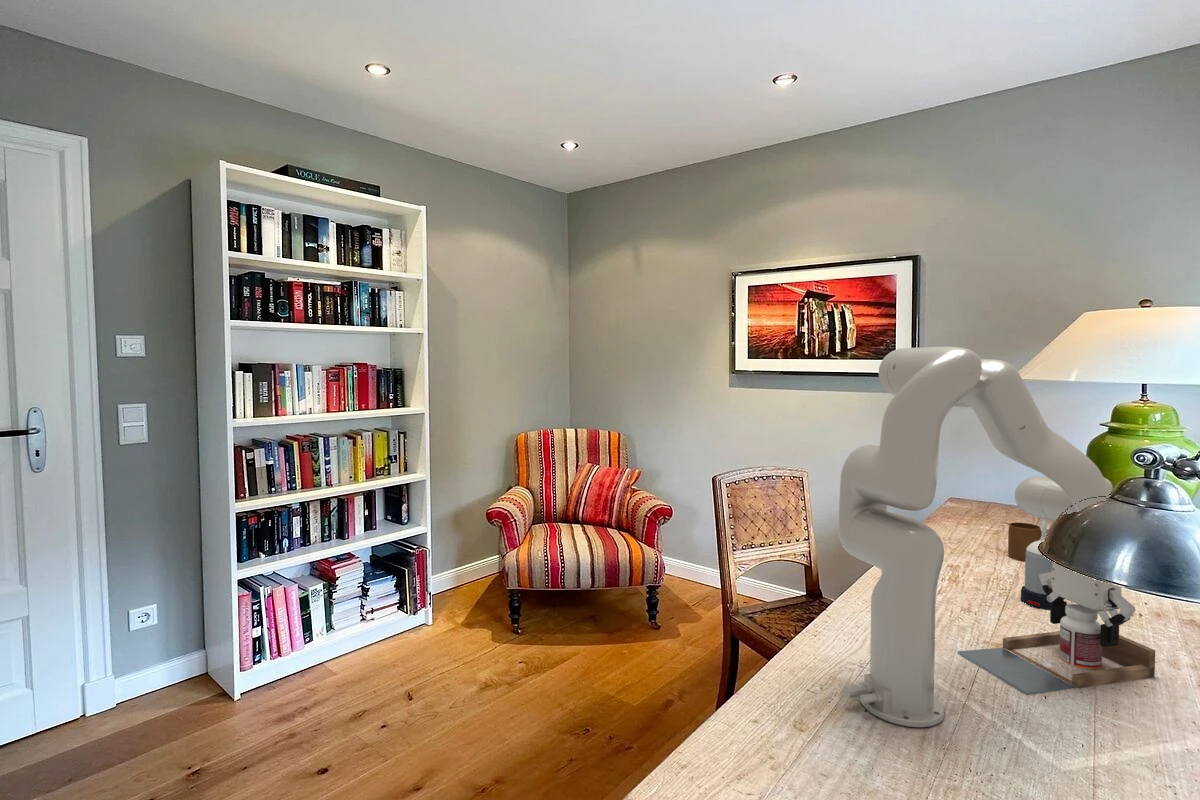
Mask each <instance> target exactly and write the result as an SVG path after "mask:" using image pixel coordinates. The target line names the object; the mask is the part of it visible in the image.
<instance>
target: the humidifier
mask: <svg viewBox="0 0 1200 800" xmlns="http://www.w3.org/2000/svg"><path fill="white" fill-rule="evenodd" d="M1047 526H1048V525H1047V519H1043V518H1041V531H1042V536H1041V539H1040V540H1039V541H1035V542H1033V543H1031V544H1030V545H1029V546H1028V547H1027V548H1026V559H1025V561H1024V562H1025V565H1024V567H1025V568H1024V585H1023V586H1022V587H1021V589H1020V601H1021V602H1022V603H1023V602H1024V603H1023V604H1025V603H1026V604H1025V605H1027V606H1029V605H1030V606H1029V607H1032V606H1033V607H1032V608H1035V607H1036V608H1035V609H1039V610H1047V611H1050V603H1051V602H1049V601H1048V600H1047V595H1046V593H1045V592H1044V590H1043V588H1042V587H1043V585H1042V583H1041V581H1040V578H1039V574H1043V573H1049V572H1052V565H1053V562H1052V561H1050V560H1048V559H1047V558H1045V557H1044V556H1043V555H1042V554H1041V553H1040V552H1039V551H1038V546H1039V544H1040V543H1041V542H1042V541H1043V540H1044V538H1045V536H1046V530H1047V529H1048V528H1047ZM1046 537H1047V536H1046ZM1063 601H1065V600H1063Z"/></svg>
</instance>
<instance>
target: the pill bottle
mask: <svg viewBox="0 0 1200 800" xmlns="http://www.w3.org/2000/svg"><path fill="white" fill-rule="evenodd" d="M1065 612H1066V615H1067V616H1064V617H1062V618H1061V620H1060V623H1059V631H1060V643H1059V653H1058V654H1059V655H1058V656H1059V658H1060V660H1062V662H1064V663H1066V664H1068V665H1071V666H1073V667H1077V668H1081V669H1086V670H1098V669H1101V668H1102V665H1103V663H1102V662H1103V660H1102V659H1103V656H1102V646H1101V644H1100V629H1101V624H1100V623H1099V622H1098V621H1097V620H1098V617H1099V616H1098V615H1099V614H1098V612H1097V611H1094V610H1091V609H1089V608H1086V607H1084V606H1081V605H1079V604H1076V603H1069V604H1068V603H1067V605H1066V608H1065Z"/></svg>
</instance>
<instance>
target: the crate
mask: <svg viewBox="0 0 1200 800" xmlns="http://www.w3.org/2000/svg"><path fill="white" fill-rule="evenodd" d="M1058 644H1059V645H1060V630H1057V631H1050V632H1048V631H1047V632H1041V633H1040V632H1039V633H1035V634H1034V633H1033V634H1032V633H1031V634H1023V635H1015V636H1009V637H1003V638H1002V648H1004V649H1006V650H1008V651H1010V652H1011V653H1013V654H1015V655H1017V656H1019V657H1021V658H1022V659H1024V660H1026V661H1028V662H1030V663H1032V664H1033V665H1035V666H1037V667H1039V668H1041V669H1043V670H1045V671H1046V672H1048V673H1050V674H1052V675H1054V676H1056V677H1057V678H1059V679H1061V680H1063V681H1065V682H1067V683H1068V684H1070V685H1072V686H1074V687H1076V688H1077V689H1082V688H1091V687H1097V686H1104V685H1105V686H1106V685H1110V684H1118V683H1124V682H1132V681H1133V682H1134V681H1137V680H1145V679H1152V678H1155V674H1156V673H1155V672H1156V671H1155V669H1156V652H1157V650H1155V649H1153V648H1151V647H1149V646H1147V645H1144V644H1142V643H1139V642H1137V641H1134V640H1132V639H1130V638H1127V637H1125V636H1123V635H1120V634H1119V641H1118V645H1117V646H1111V647H1103V646H1102V658H1105V659H1107V660H1109V661H1111V662H1114V663H1116V664H1118V665H1120V667H1115V668H1106V669H1101V670H1095V671H1093V670H1092V671H1088V672H1078V673H1073V674H1072V676H1071V677H1072V679H1071V680H1070V679H1069V678H1067V677H1065V676H1063V675H1062V674H1059V673H1057V672H1056V671H1054V670H1052V669H1051V668H1049V667H1047V666H1045V665H1043V664H1040V663H1039V662H1037V661H1035V660H1033V658H1032V659H1031V658H1030V657H1028V656H1026V655H1024V654H1022V653H1020V652H1019V651H1017V650H1019V649H1027V648H1034V647H1035V648H1036V647H1043V646H1050V645H1058ZM1121 666H1122V667H1121Z"/></svg>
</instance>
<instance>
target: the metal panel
mask: <svg viewBox="0 0 1200 800" xmlns="http://www.w3.org/2000/svg"><path fill="white" fill-rule="evenodd" d="M957 655H959V656H961V657H963V658H965V660H968V661H969V662H971V663H973V664H975V665H976V666H978V667H979V668H981V669H982V670H984V671H985V672H988V673H989V674H990V675H992V676H994V677H996V678H997V679H998V680H1001V681H1002V682H1004V683H1005V684H1008V686H1010V687H1012V688H1014V689H1016V690H1018V691H1019V692H1021V693H1023V694H1024V695H1026V696H1029V695H1037V694H1043V693H1050V692H1051V693H1053V692H1058V691H1064V690H1072V689H1076V688H1077V687H1075V686H1073V685H1072V684H1070V683H1068V682H1066V681H1064V680H1062V679H1061V678H1059V677H1057V676H1055V675H1053V674H1051V673H1049V672H1048V671H1046V670H1044V669H1042V668H1040V667H1038V666H1037V665H1035V664H1033V663H1031V662H1029V661H1027V660H1025V659H1024V658H1022V657H1020V656H1018V655H1016V654H1014V653H1013V652H1011V651H1009V650H1007V649H1005V648H1003V647H995V648H994V647H993V648H981V649H979V648H978V649H968V650H958V651H957Z"/></svg>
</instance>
